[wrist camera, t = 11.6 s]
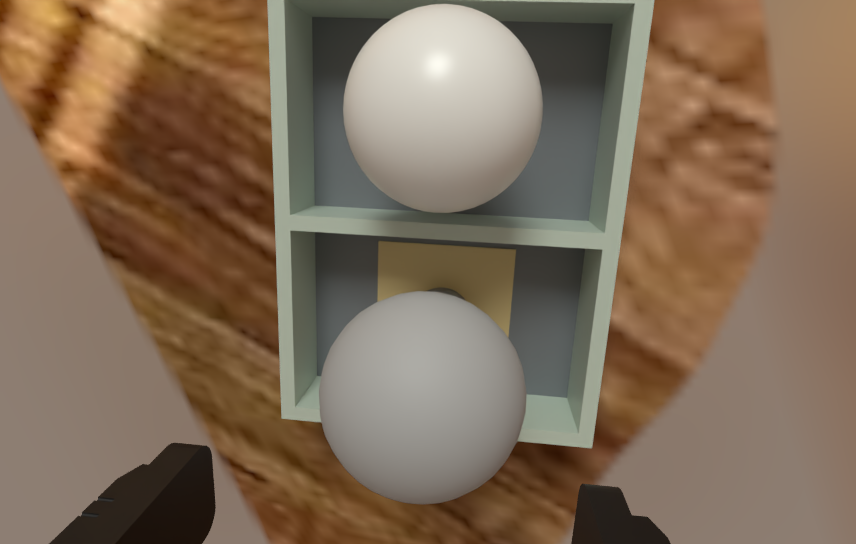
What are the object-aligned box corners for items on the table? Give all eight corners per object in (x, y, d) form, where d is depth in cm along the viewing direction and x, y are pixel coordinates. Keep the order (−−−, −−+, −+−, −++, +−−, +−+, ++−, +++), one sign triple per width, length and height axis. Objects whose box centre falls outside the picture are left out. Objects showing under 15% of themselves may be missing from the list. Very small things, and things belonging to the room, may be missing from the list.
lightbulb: (398, 383, 24) (331, 573, 14) (358, 261, 23) (250, 366, 12) (526, 355, 23) (562, 536, 13) (492, 226, 22) (500, 306, 11)
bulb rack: (313, 375, 26) (215, 509, 17) (307, 7, 22) (171, -95, 12) (574, 398, 25) (629, 556, 15) (622, 14, 21) (740, -94, 11)
